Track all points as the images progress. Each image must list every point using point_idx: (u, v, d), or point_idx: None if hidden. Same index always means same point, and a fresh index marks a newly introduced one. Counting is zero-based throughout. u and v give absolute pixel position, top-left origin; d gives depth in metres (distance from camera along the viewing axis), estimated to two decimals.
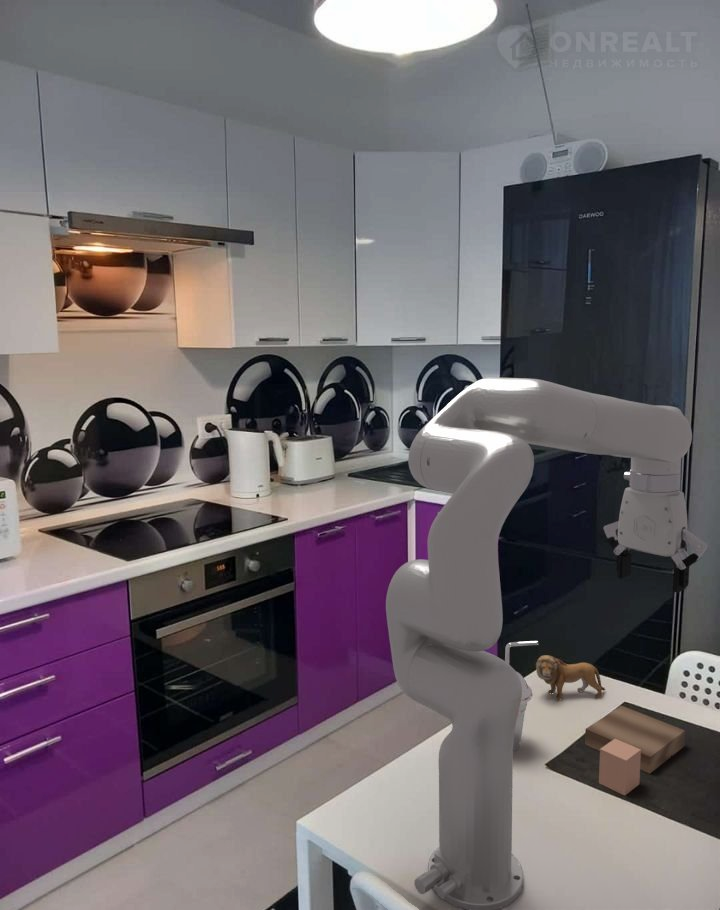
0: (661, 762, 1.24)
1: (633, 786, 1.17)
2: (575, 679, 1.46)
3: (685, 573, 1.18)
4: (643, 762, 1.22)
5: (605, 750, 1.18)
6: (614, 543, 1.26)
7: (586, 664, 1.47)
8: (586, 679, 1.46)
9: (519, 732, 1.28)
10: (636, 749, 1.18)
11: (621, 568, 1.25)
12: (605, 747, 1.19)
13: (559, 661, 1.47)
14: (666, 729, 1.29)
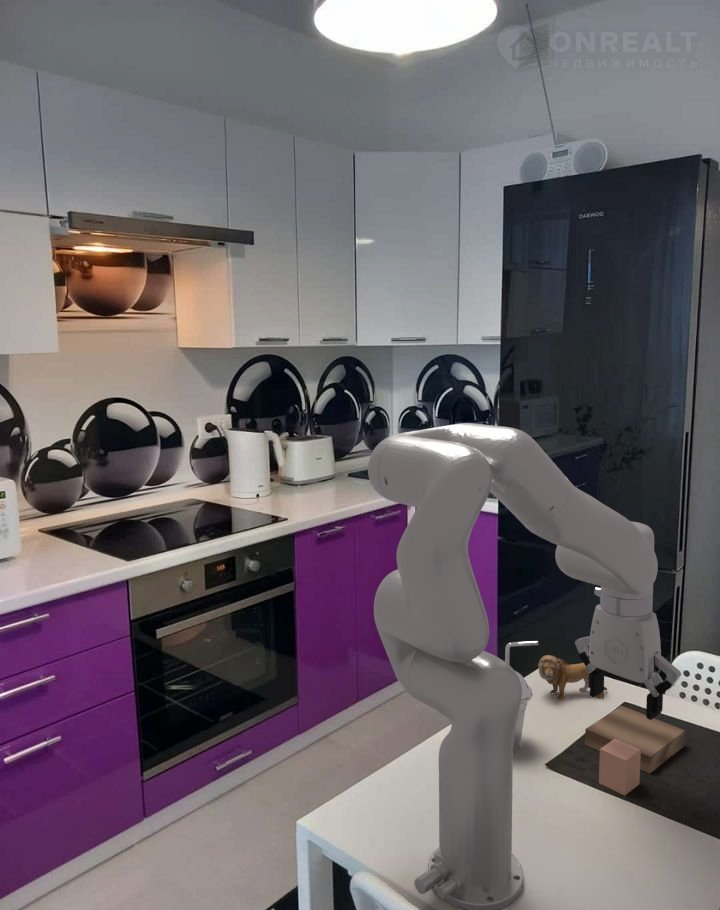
0: (661, 762, 1.24)
1: (633, 786, 1.17)
2: (577, 679, 1.46)
3: (659, 700, 1.12)
4: (643, 762, 1.22)
5: (605, 750, 1.18)
6: (586, 659, 1.20)
7: None
8: (588, 679, 1.46)
9: (519, 732, 1.28)
10: (636, 749, 1.18)
11: (593, 687, 1.19)
12: (605, 747, 1.19)
13: (561, 661, 1.47)
14: (666, 729, 1.29)
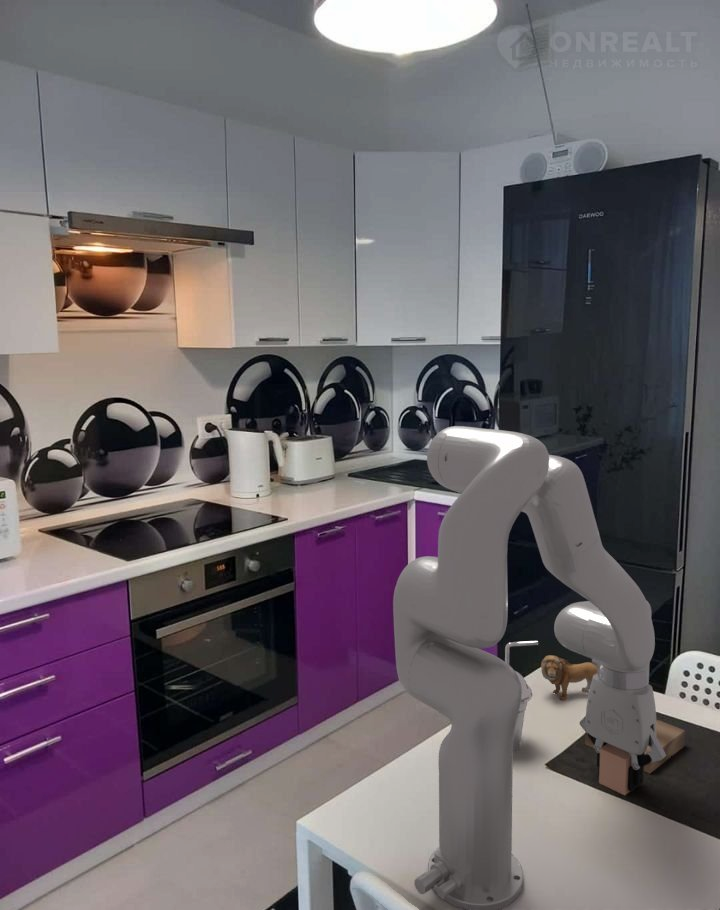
0: (661, 762, 1.24)
1: None
2: (580, 679, 1.46)
3: (639, 772, 1.15)
4: None
5: (605, 750, 1.18)
6: (594, 739, 1.20)
7: (591, 664, 1.47)
8: (591, 679, 1.46)
9: (519, 732, 1.28)
10: None
11: None
12: (605, 747, 1.19)
13: (564, 661, 1.47)
14: (666, 729, 1.29)
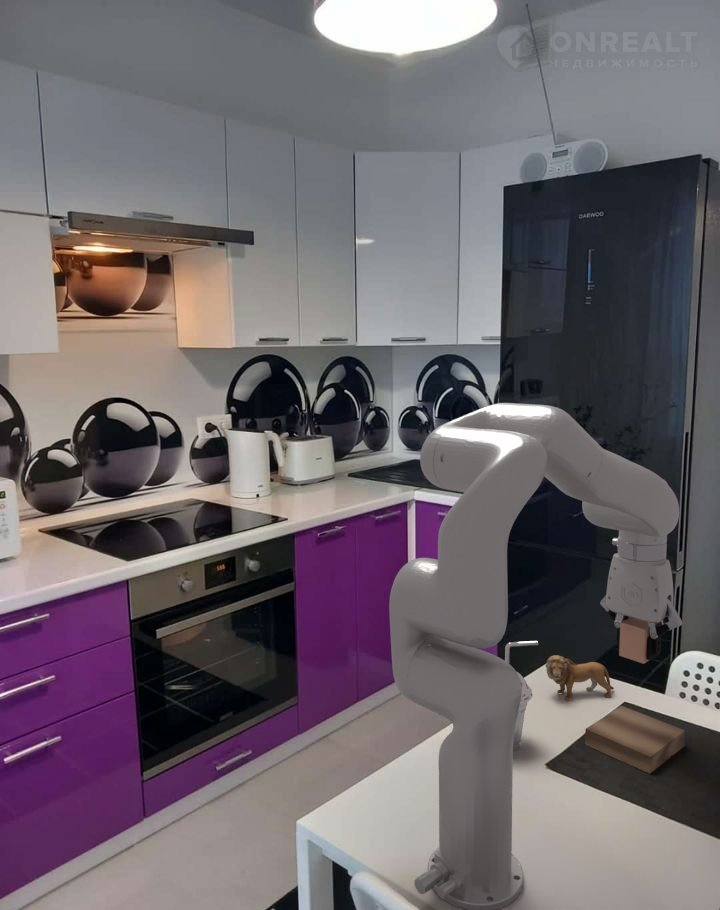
0: (661, 762, 1.24)
1: None
2: (585, 679, 1.47)
3: (657, 642, 1.24)
4: (643, 762, 1.22)
5: (625, 623, 1.26)
6: (614, 615, 1.29)
7: (595, 663, 1.47)
8: (596, 678, 1.46)
9: (519, 732, 1.28)
10: None
11: None
12: (625, 621, 1.27)
13: (569, 661, 1.47)
14: (666, 729, 1.29)
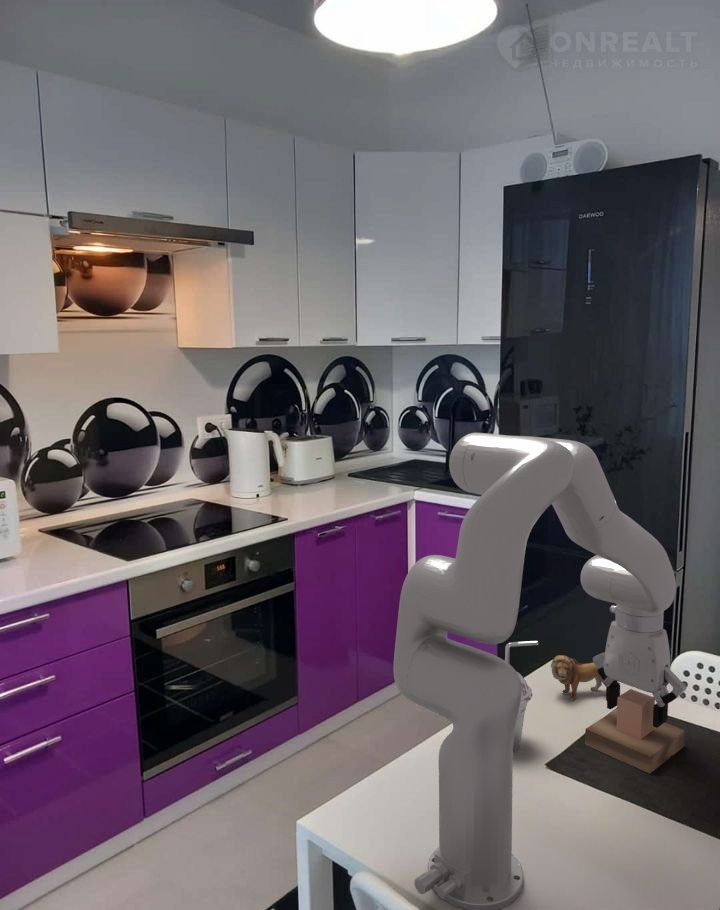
0: (661, 762, 1.24)
1: (648, 731, 1.28)
2: (590, 678, 1.47)
3: (664, 710, 1.24)
4: (643, 762, 1.22)
5: (622, 698, 1.28)
6: (604, 674, 1.32)
7: None
8: (600, 678, 1.46)
9: (519, 732, 1.28)
10: (651, 697, 1.28)
11: (610, 699, 1.30)
12: (622, 696, 1.29)
13: (574, 661, 1.47)
14: (666, 729, 1.29)
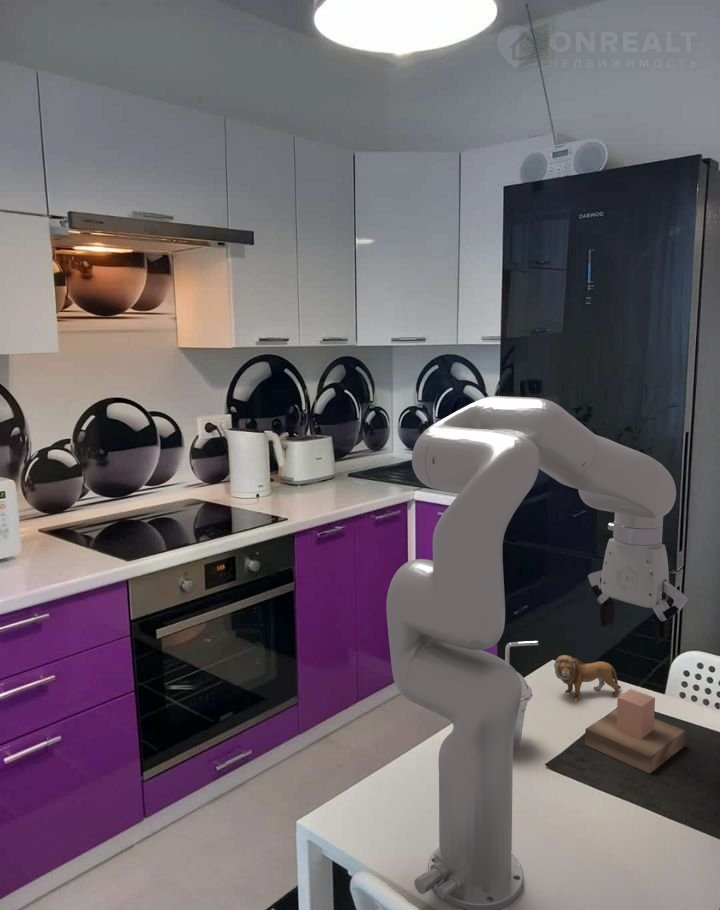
0: (661, 762, 1.24)
1: (648, 731, 1.28)
2: (593, 678, 1.47)
3: (666, 625, 1.21)
4: (643, 762, 1.22)
5: (622, 698, 1.28)
6: (598, 591, 1.29)
7: (603, 663, 1.47)
8: (604, 678, 1.46)
9: (519, 732, 1.28)
10: (651, 697, 1.28)
11: (604, 616, 1.28)
12: (622, 696, 1.29)
13: (577, 661, 1.47)
14: (666, 729, 1.29)
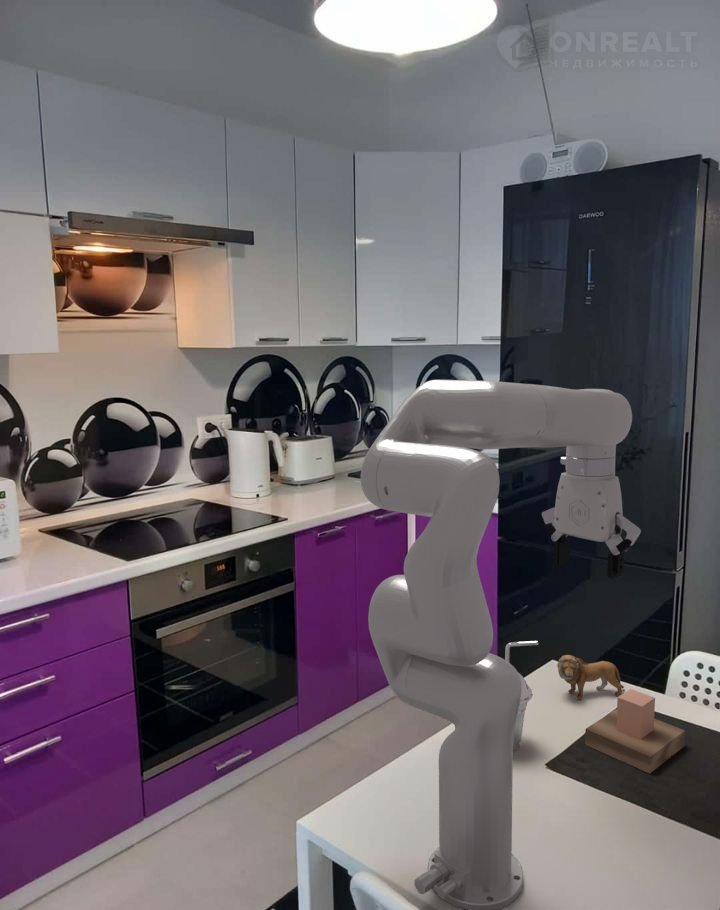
0: (661, 762, 1.24)
1: (648, 731, 1.28)
2: (596, 678, 1.47)
3: (619, 559, 1.16)
4: (643, 762, 1.22)
5: (622, 698, 1.28)
6: (552, 529, 1.24)
7: (606, 662, 1.47)
8: (607, 677, 1.47)
9: (519, 732, 1.28)
10: (651, 697, 1.28)
11: (558, 554, 1.23)
12: (622, 696, 1.29)
13: (580, 660, 1.47)
14: (666, 729, 1.29)
